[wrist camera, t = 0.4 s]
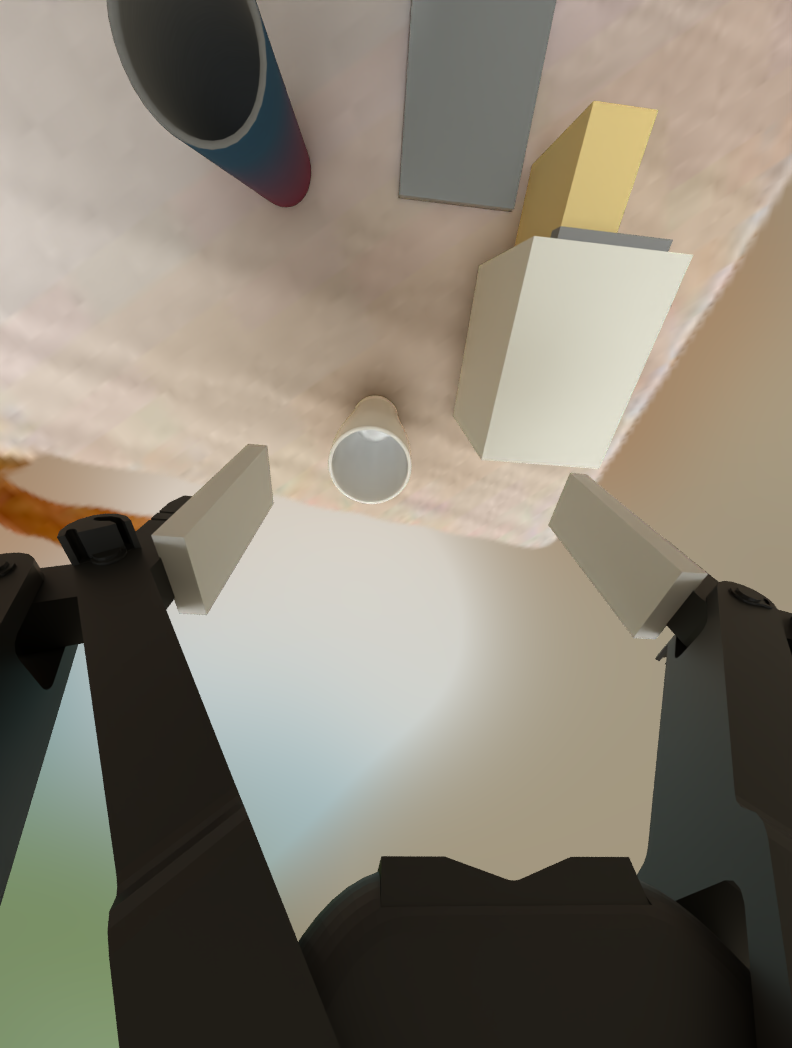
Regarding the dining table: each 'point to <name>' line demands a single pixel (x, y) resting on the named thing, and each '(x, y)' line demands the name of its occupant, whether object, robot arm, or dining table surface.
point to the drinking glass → (371, 453)
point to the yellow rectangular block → (587, 172)
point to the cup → (215, 87)
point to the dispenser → (562, 343)
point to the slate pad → (471, 98)
